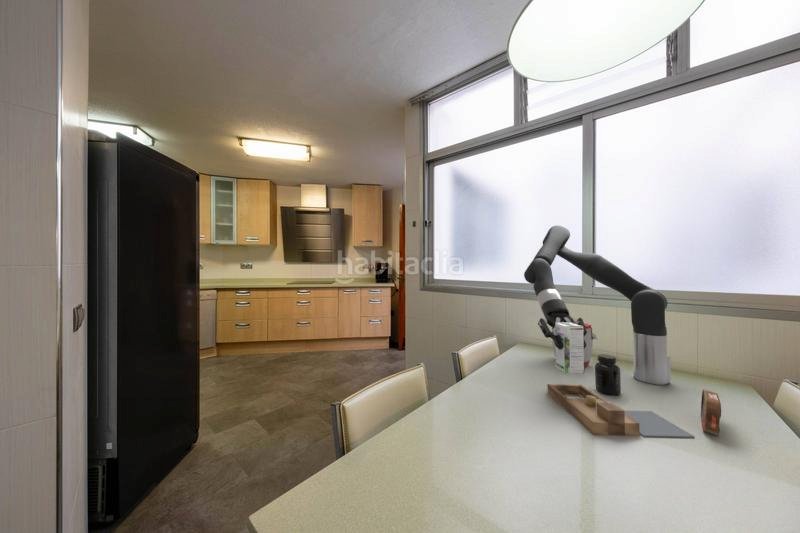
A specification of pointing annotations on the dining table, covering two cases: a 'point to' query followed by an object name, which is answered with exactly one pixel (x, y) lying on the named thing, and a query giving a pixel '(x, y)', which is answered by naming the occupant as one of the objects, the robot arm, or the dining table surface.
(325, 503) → the dining table surface
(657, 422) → the mat
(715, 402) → the tin
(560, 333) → the syrup box
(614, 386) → the supplement bottle
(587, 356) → the citrus juicer
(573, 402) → the body
